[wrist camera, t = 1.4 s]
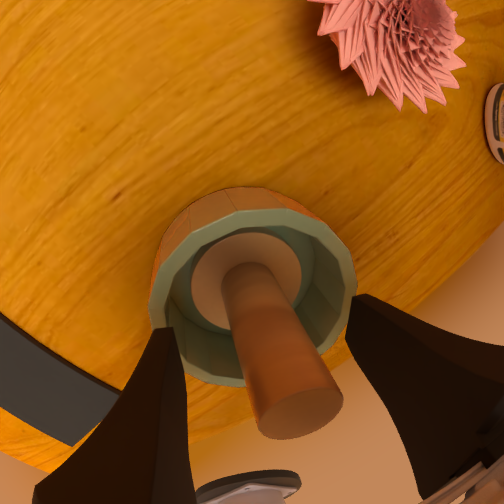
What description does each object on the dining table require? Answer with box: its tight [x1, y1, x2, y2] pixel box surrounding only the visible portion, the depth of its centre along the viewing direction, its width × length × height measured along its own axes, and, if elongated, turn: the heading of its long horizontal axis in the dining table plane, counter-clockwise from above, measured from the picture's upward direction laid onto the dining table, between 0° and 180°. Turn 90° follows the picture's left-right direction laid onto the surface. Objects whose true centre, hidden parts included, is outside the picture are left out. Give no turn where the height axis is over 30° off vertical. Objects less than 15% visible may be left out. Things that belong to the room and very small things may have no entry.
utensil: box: [190, 227, 343, 440], centre depth 11 cm, size 5×5×8 cm
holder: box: [147, 187, 358, 387], centre depth 13 cm, size 8×8×4 cm
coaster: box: [0, 313, 121, 447], centre depth 15 cm, size 10×10×1 cm
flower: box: [306, 0, 467, 114], centre depth 8 cm, size 8×8×6 cm
